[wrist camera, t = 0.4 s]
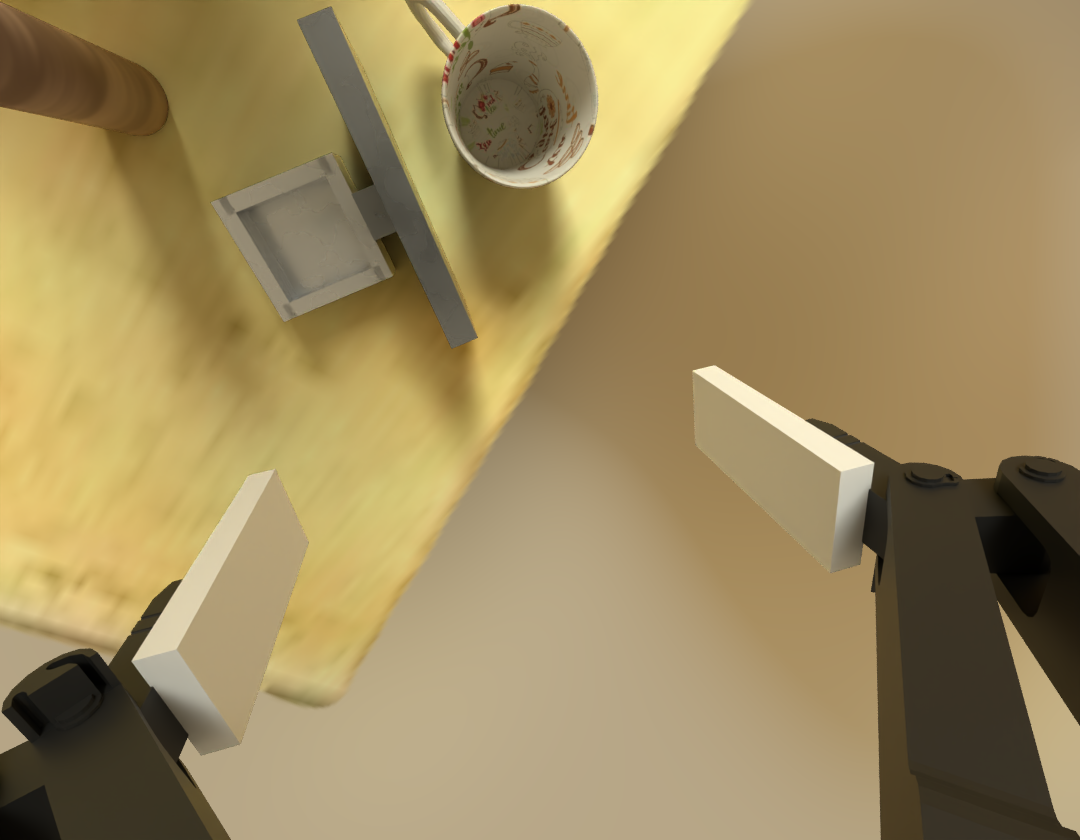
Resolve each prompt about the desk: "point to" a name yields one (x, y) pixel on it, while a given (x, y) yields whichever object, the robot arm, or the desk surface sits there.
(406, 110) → the desk surface
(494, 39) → the mug
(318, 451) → the desk surface
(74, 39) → the handle
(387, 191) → the bracket
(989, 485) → the robot arm
